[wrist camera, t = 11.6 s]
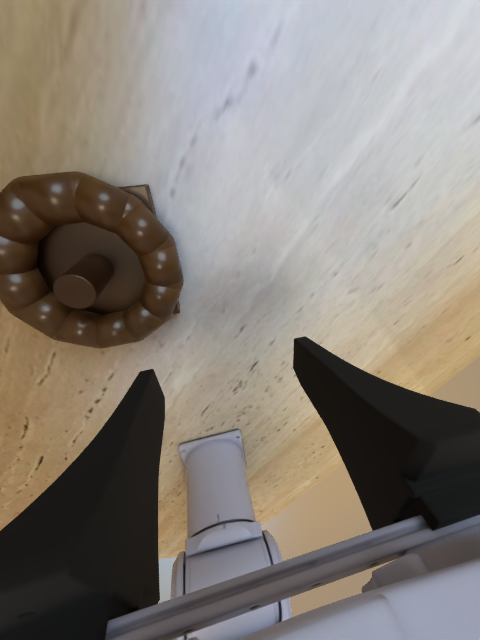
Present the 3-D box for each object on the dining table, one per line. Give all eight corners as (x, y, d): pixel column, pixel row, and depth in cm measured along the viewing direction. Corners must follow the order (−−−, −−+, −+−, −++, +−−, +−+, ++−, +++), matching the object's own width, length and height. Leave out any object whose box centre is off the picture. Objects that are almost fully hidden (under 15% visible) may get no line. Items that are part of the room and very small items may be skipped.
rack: (179, 306, 20) (179, 342, 15) (66, 326, 19) (30, 371, 14) (148, 184, 15) (134, 186, 11) (-8, 200, 14) (-95, 210, 9)
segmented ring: (194, 320, 19) (195, 336, 17) (53, 346, 18) (37, 367, 16) (158, 164, 14) (154, 162, 12) (-52, 184, 12) (-99, 186, 10)
